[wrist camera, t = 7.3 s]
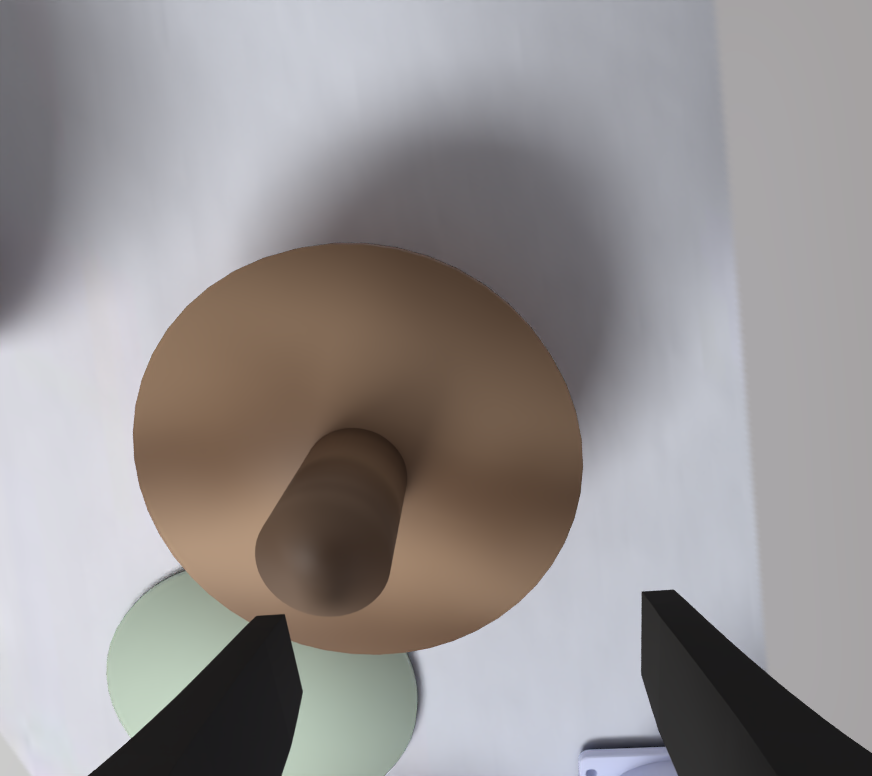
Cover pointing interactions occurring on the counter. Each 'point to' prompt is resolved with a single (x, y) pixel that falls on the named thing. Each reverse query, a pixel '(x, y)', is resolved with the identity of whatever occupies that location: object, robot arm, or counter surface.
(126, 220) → the counter surface
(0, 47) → the counter surface
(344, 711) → the mat
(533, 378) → the lid
